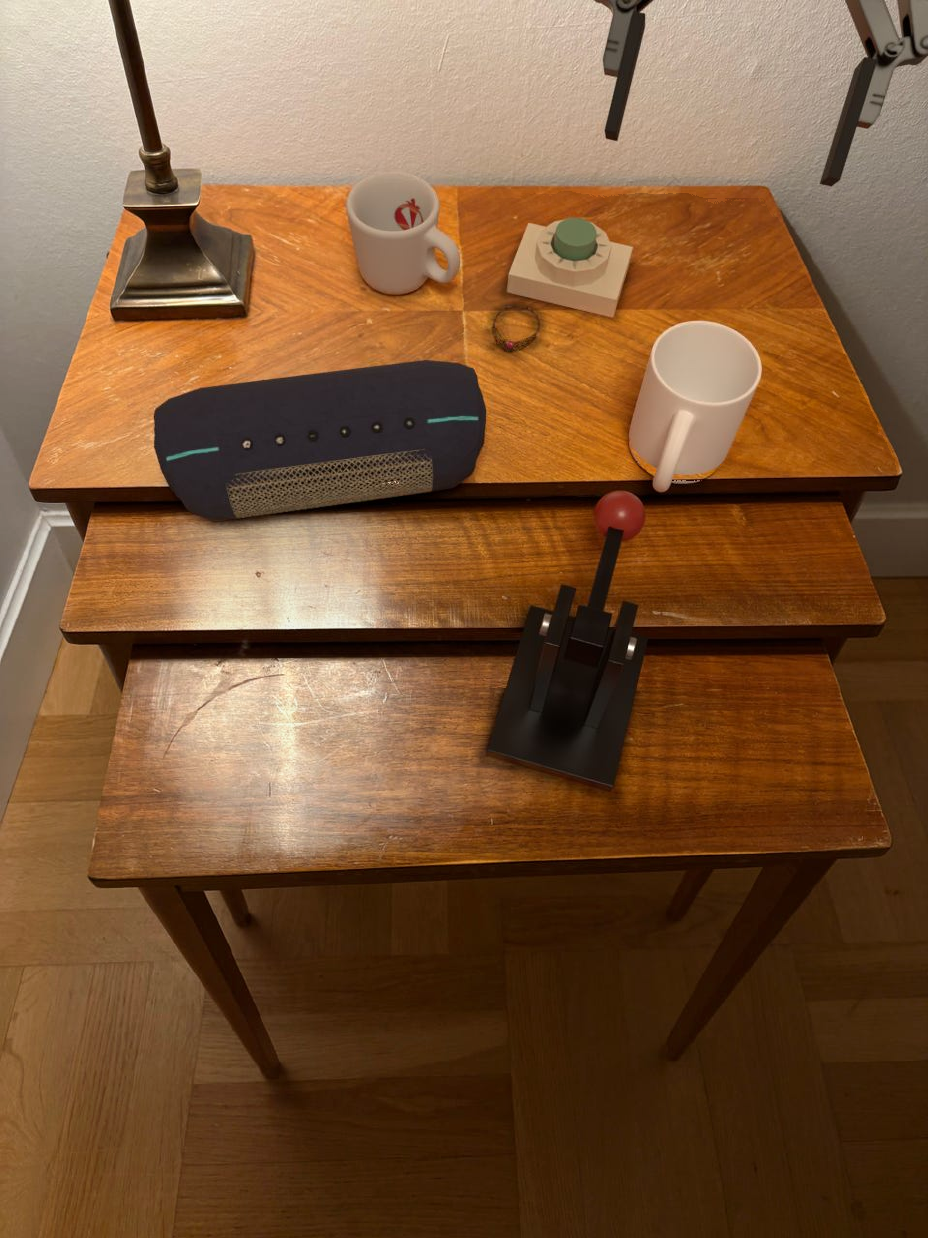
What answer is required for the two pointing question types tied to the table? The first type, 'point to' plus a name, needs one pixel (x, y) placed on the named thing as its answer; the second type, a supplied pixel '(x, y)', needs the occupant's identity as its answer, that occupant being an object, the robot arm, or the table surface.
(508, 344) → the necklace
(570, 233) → the button
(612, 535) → the lever
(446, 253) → the cup
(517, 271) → the button block
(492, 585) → the table surface
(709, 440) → the mug
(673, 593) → the table surface
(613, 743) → the lever base
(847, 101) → the robot arm
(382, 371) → the portable speaker
